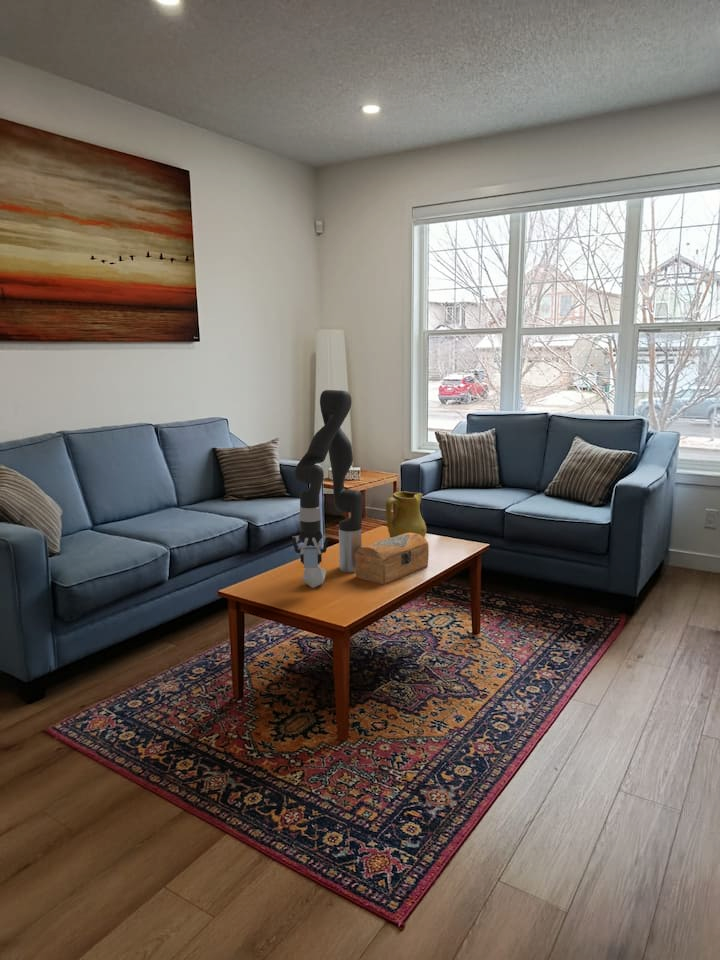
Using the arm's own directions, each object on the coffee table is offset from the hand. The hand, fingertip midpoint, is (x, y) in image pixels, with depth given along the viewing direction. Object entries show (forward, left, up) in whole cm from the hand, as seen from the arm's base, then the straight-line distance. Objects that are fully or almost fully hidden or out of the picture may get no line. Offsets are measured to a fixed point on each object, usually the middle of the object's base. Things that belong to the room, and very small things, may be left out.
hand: (311, 563), depth 248 cm
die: (-3, 0, -7) cm, 7 cm away
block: (0, 0, -1) cm, 1 cm away
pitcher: (-61, +39, -12) cm, 73 cm away
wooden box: (-24, +32, -12) cm, 41 cm away
